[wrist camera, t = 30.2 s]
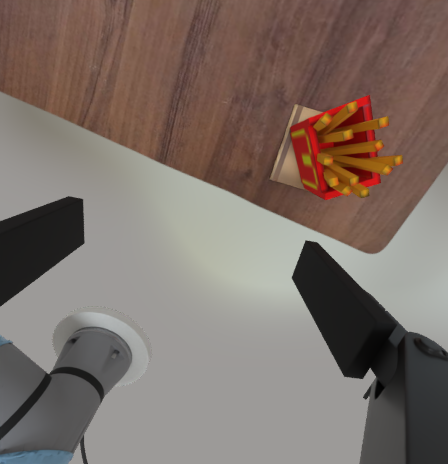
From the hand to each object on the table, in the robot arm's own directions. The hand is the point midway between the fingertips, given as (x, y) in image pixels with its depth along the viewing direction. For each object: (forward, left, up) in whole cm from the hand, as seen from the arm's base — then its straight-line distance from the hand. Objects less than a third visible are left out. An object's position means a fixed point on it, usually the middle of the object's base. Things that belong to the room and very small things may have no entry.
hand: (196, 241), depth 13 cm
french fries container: (+9, -12, -25) cm, 29 cm away
